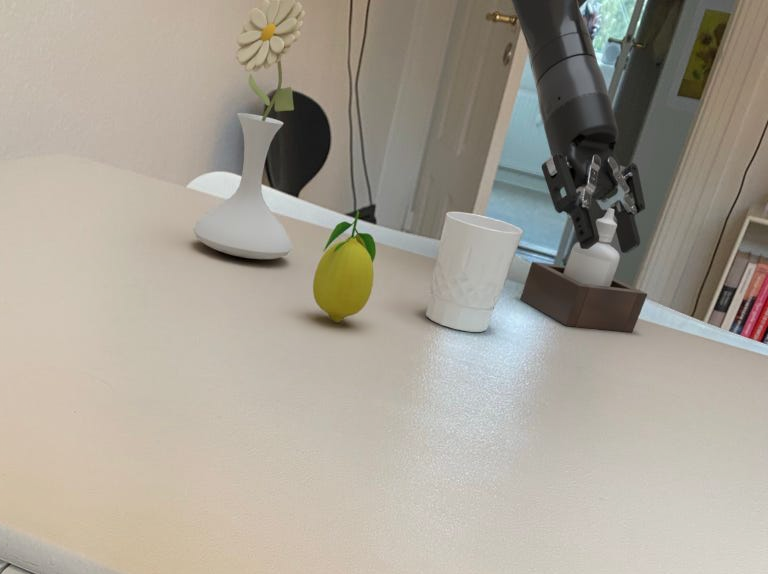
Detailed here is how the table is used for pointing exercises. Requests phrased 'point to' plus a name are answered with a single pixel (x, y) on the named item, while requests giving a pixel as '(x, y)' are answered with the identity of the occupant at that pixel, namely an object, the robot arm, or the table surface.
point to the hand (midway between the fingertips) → (611, 247)
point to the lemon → (345, 273)
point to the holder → (582, 299)
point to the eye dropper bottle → (595, 256)
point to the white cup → (471, 270)
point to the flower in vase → (256, 142)
